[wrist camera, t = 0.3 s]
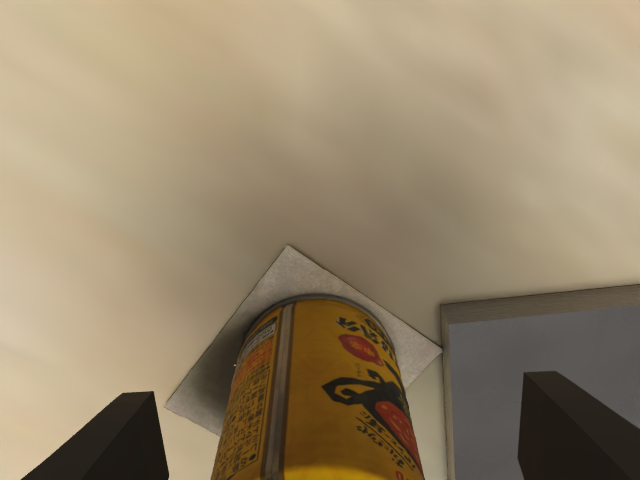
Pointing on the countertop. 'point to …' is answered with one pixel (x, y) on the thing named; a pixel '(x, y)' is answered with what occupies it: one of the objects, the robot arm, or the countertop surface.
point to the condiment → (308, 383)
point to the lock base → (531, 367)
